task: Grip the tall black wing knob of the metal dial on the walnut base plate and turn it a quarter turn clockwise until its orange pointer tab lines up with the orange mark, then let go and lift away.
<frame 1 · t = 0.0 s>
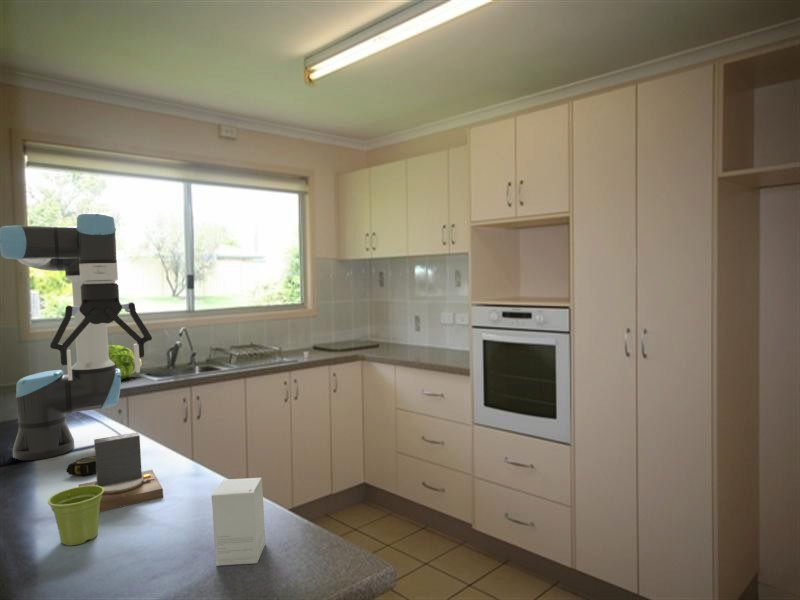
hand: (104, 375, 125), 28 cm above the counter, fingers open, 13 cm apart
tape measure: (84, 474, 141), on the counter
dial knob: (122, 460, 126), point 8 cm above the counter, hinge at 0.0°
dial base plate: (120, 494, 126), on the counter
lettuce: (117, 380, 275), on the counter
supplement box: (241, 555, 97), on the counter
plant pot: (79, 539, 105), on the counter
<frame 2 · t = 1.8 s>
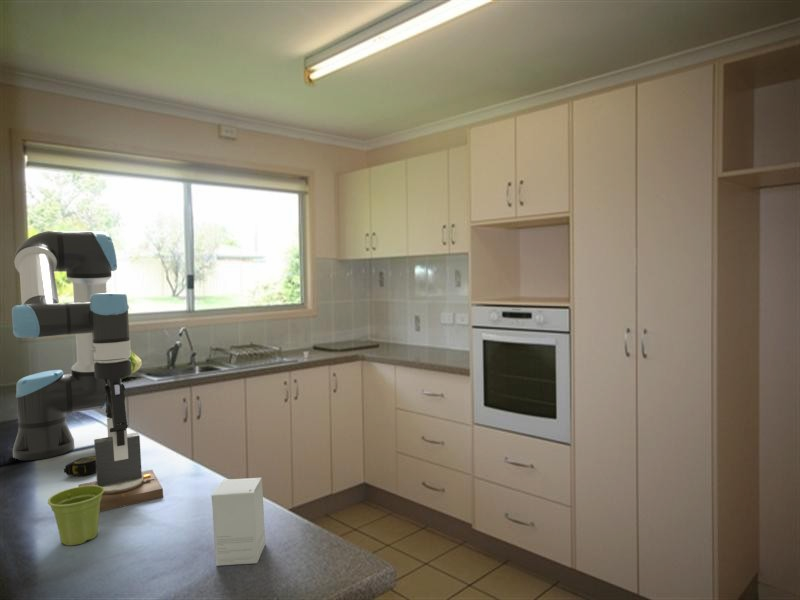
hand: (118, 451, 125), 10 cm above the counter, fingers open, 13 cm apart
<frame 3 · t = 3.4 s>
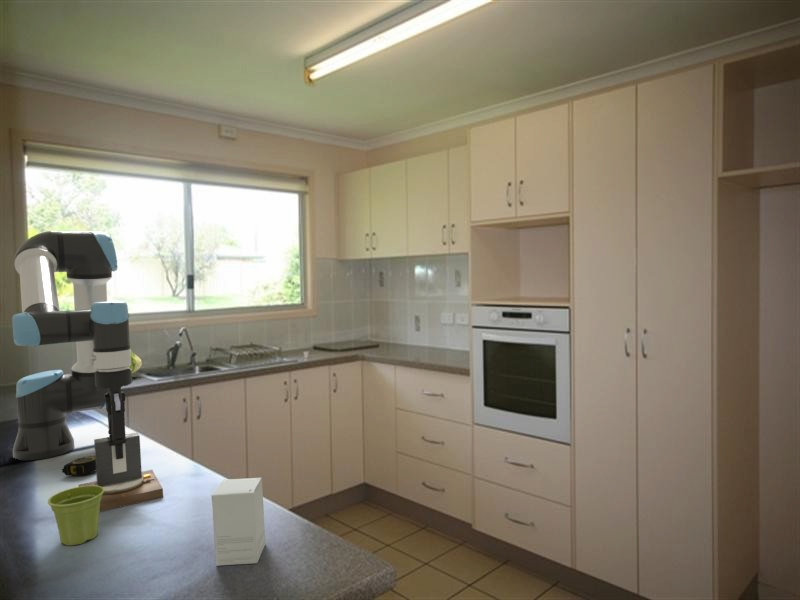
hand: (118, 469, 126), 6 cm above the counter, fingers closed on dial knob, 3 cm apart
dial knob: (122, 460, 126), point 8 cm above the counter, hinge at 0.0°, touching gripper
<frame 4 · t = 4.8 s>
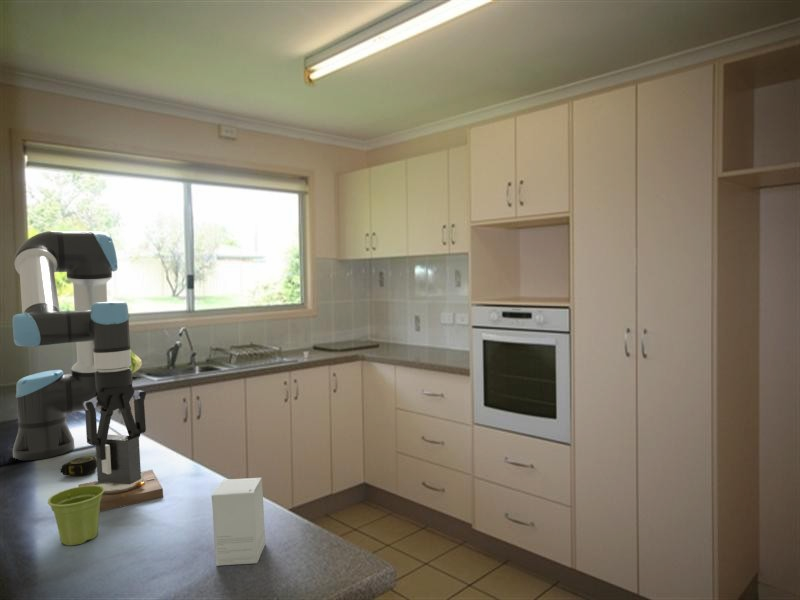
hand: (119, 468, 126), 6 cm above the counter, fingers closed on dial knob, 5 cm apart
dial knob: (121, 461, 126), point 8 cm above the counter, hinge at -48.0°, touching gripper
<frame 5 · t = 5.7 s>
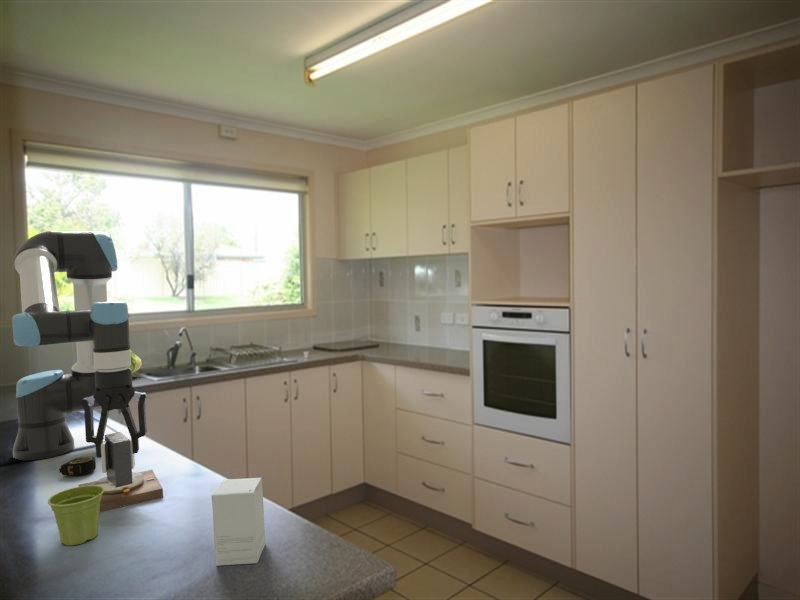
hand: (118, 468, 126), 6 cm above the counter, fingers closed on dial knob, 5 cm apart
dial knob: (119, 462, 125), point 8 cm above the counter, hinge at -83.2°, touching gripper
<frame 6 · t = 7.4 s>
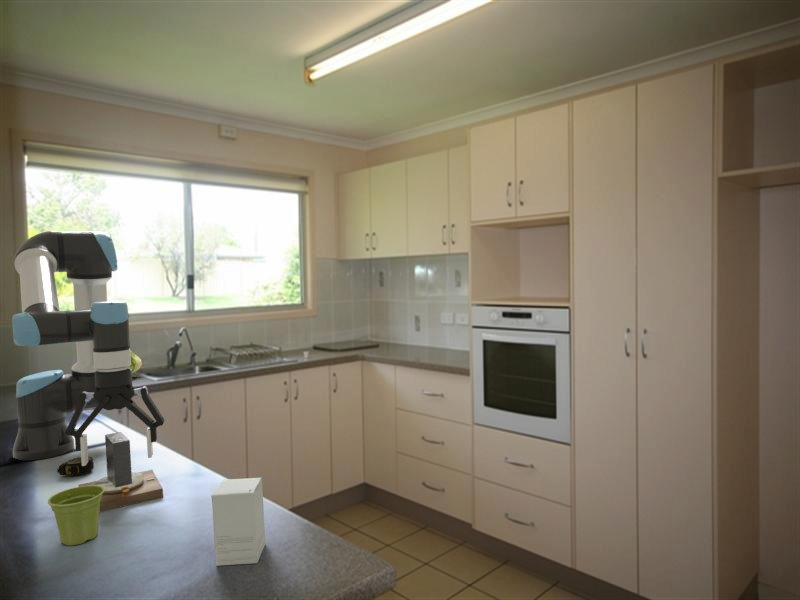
hand: (118, 460, 126), 8 cm above the counter, fingers open, 13 cm apart
dial knob: (119, 462, 125), point 8 cm above the counter, hinge at -84.5°
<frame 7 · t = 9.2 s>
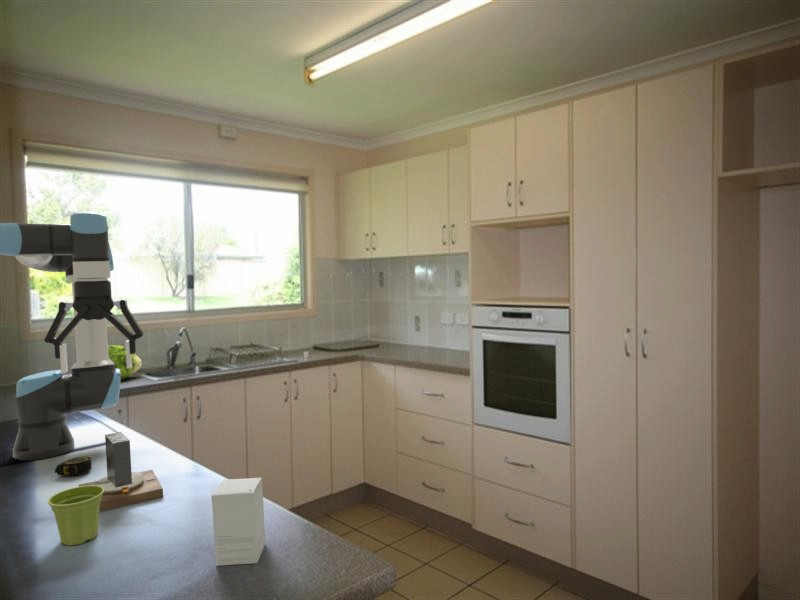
hand: (97, 370, 129), 29 cm above the counter, fingers open, 13 cm apart
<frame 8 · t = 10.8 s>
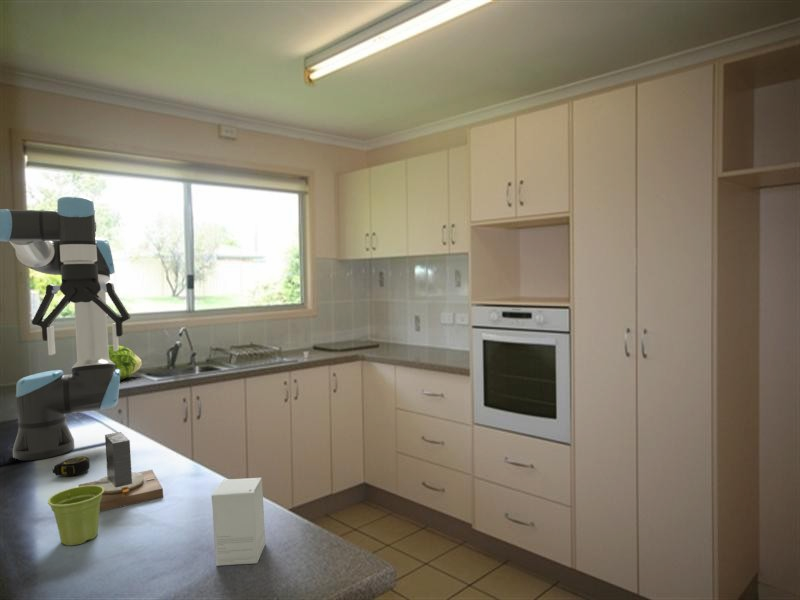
hand: (84, 352, 130), 33 cm above the counter, fingers open, 13 cm apart
at the end: dial knob at -84° (first picture: +0°); the gripper is holding nothing; plant pot moved 0.2 cm from its start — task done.
